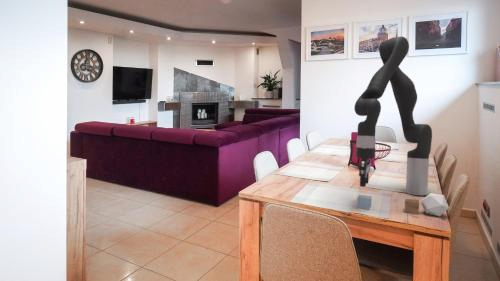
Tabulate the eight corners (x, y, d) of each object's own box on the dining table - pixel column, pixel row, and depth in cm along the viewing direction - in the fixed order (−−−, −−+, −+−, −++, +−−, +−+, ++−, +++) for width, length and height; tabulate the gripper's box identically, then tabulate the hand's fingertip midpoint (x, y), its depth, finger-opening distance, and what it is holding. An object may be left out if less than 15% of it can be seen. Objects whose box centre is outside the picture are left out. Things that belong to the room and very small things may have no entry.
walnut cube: (405, 210, 133) (405, 198, 133) (418, 211, 131) (419, 199, 131) (404, 213, 129) (405, 200, 129) (418, 214, 127) (419, 202, 126)
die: (418, 214, 126) (447, 222, 121) (422, 192, 125) (452, 199, 120) (418, 208, 133) (446, 216, 129) (423, 188, 132) (451, 194, 128)
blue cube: (358, 206, 139) (359, 194, 139) (371, 207, 137) (371, 196, 136) (357, 208, 134) (357, 197, 134) (369, 210, 132) (370, 198, 132)
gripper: (358, 145, 142) (357, 181, 143) (353, 146, 130) (352, 186, 130) (376, 146, 139) (375, 183, 140) (373, 147, 126) (371, 188, 127)
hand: (364, 184), depth 135 cm, fingers open, 8 cm apart
